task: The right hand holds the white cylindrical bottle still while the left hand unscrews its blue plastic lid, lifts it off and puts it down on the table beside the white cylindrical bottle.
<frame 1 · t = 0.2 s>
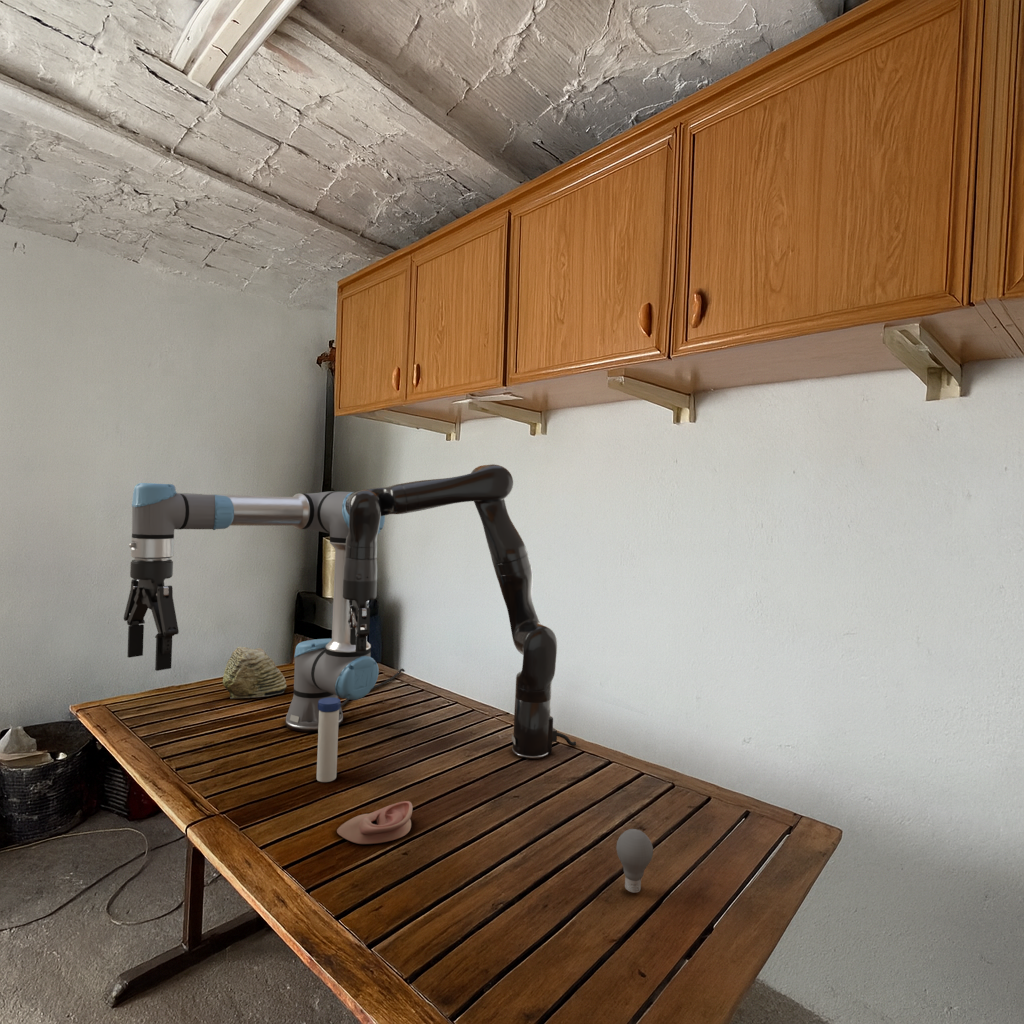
left hand: (148, 662, 129), 28 cm above the table, tool pointing down, fingers open, 13 cm apart
right hand: (357, 648, 144), 29 cm above the table, tool pointing down, fingers open, 8 cm apart
fossil: (254, 694, 198), on the table
light bulb: (632, 891, 106), on the table
lid: (329, 702, 142), point 17 cm above the table, screwed on, not yet turned
white cylindrical bottle: (326, 778, 143), on the table
anatomical model: (375, 830, 121), on the table
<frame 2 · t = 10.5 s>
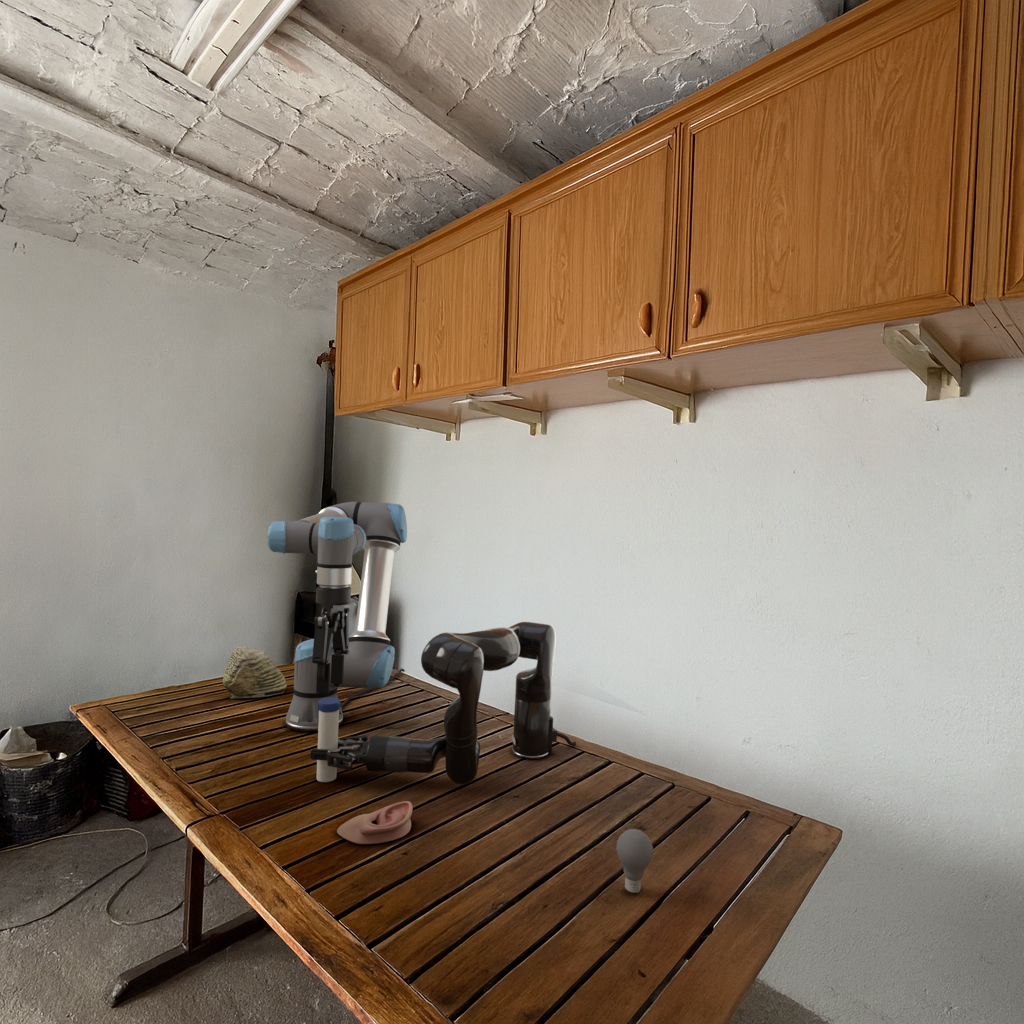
left hand: (329, 687, 142), 21 cm above the table, tool pointing down, fingers open, 7 cm apart
right hand: (315, 749, 143), 6 cm above the table, tool horizontal, fingers closed on white cylindrical bottle, 4 cm apart
white cylindrical bottle: (326, 778, 143), on the table, touching right hand
everything else where it was.
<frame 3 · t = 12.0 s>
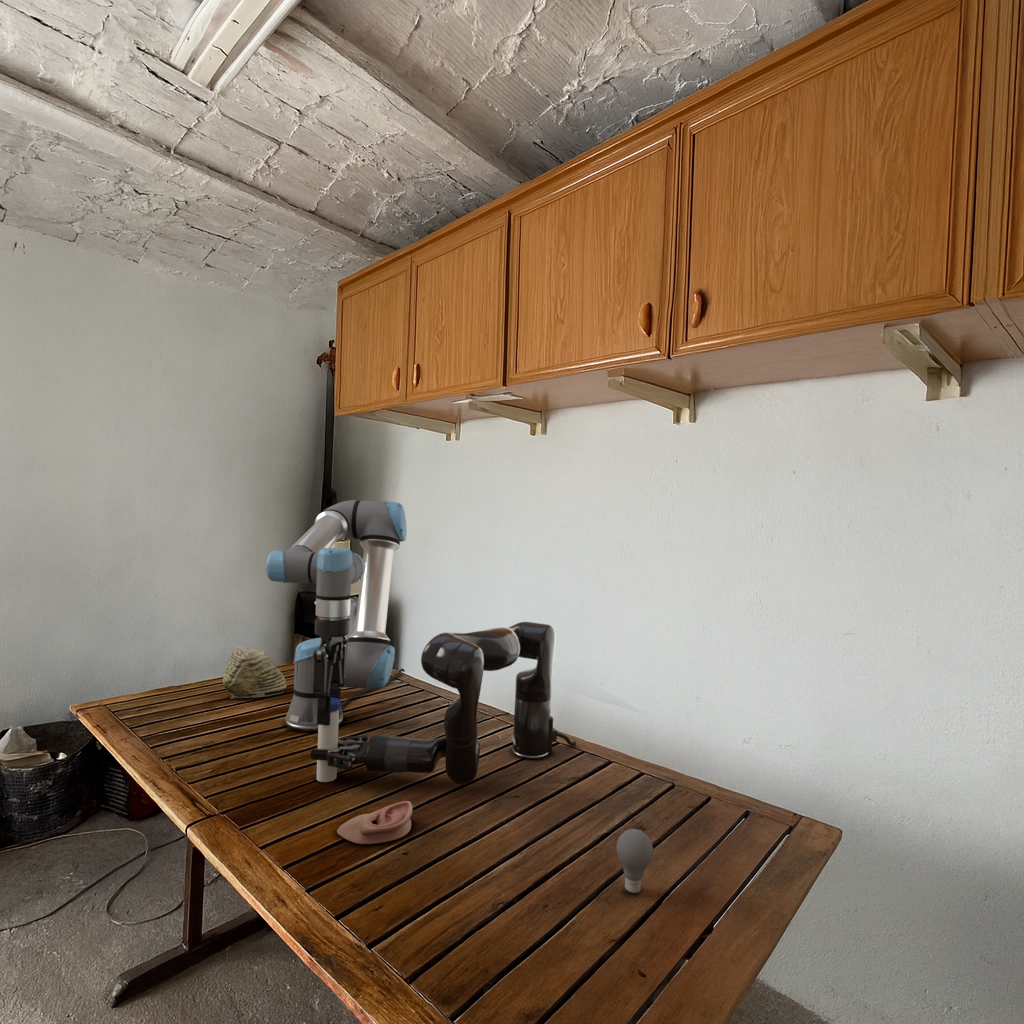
left hand: (328, 720, 142), 13 cm above the table, tool pointing down, fingers closed on lid, 5 cm apart
right hand: (315, 749, 143), 6 cm above the table, tool horizontal, fingers closed on white cylindrical bottle, 4 cm apart
lid: (329, 702, 142), point 17 cm above the table, screwed on, not yet turned, touching left hand
white cylindrical bottle: (326, 778, 143), on the table, touching right hand
everything else where it was.
when the left hand's fingers open (13 cm above the table, at t = 13.3 s): lid stays where it is, point 17 cm above the table.
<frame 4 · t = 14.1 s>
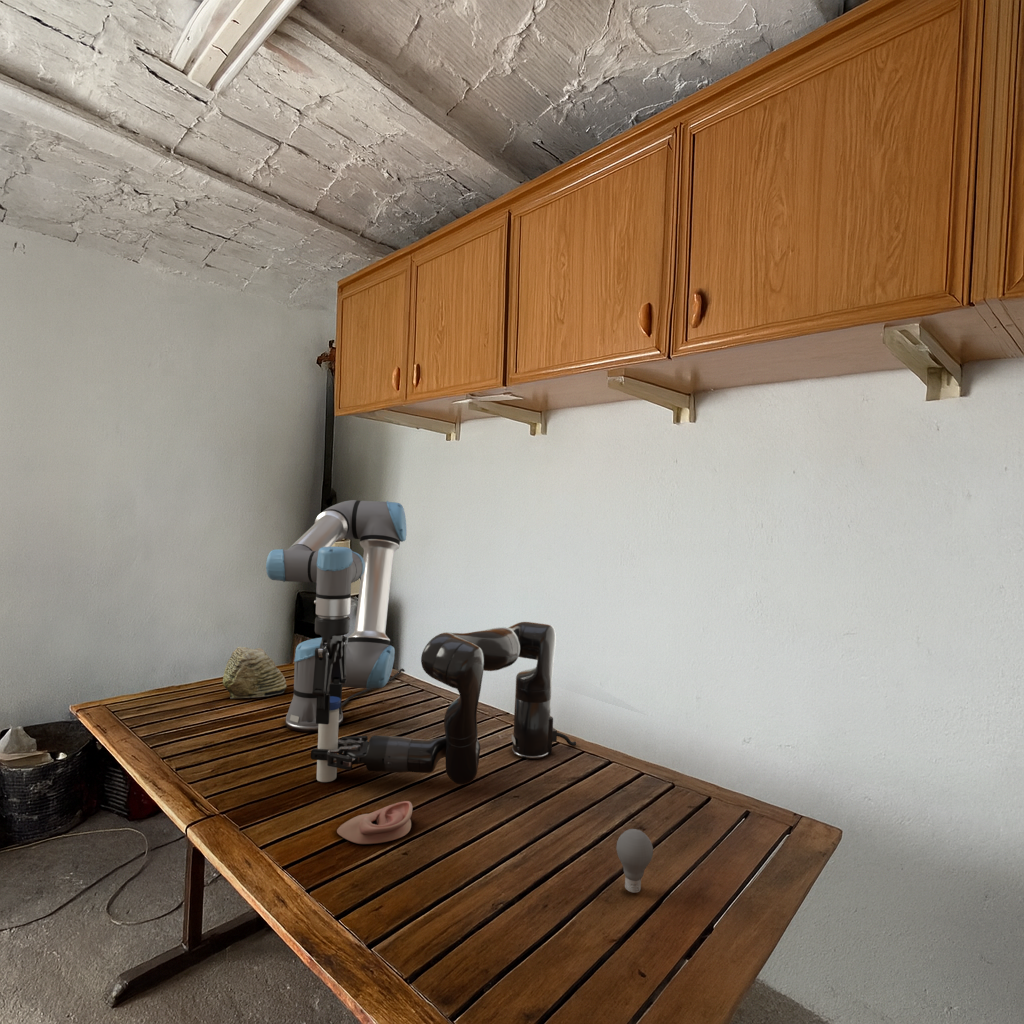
left hand: (328, 717, 142), 14 cm above the table, tool pointing down, fingers open, 7 cm apart
right hand: (315, 749, 143), 6 cm above the table, tool horizontal, fingers closed on white cylindrical bottle, 4 cm apart
lid: (329, 701, 142), point 17 cm above the table, turned 86° so far, risen 0.3 cm, still on its thread
white cylindrical bottle: (326, 778, 143), on the table, touching right hand
everything else where it was.
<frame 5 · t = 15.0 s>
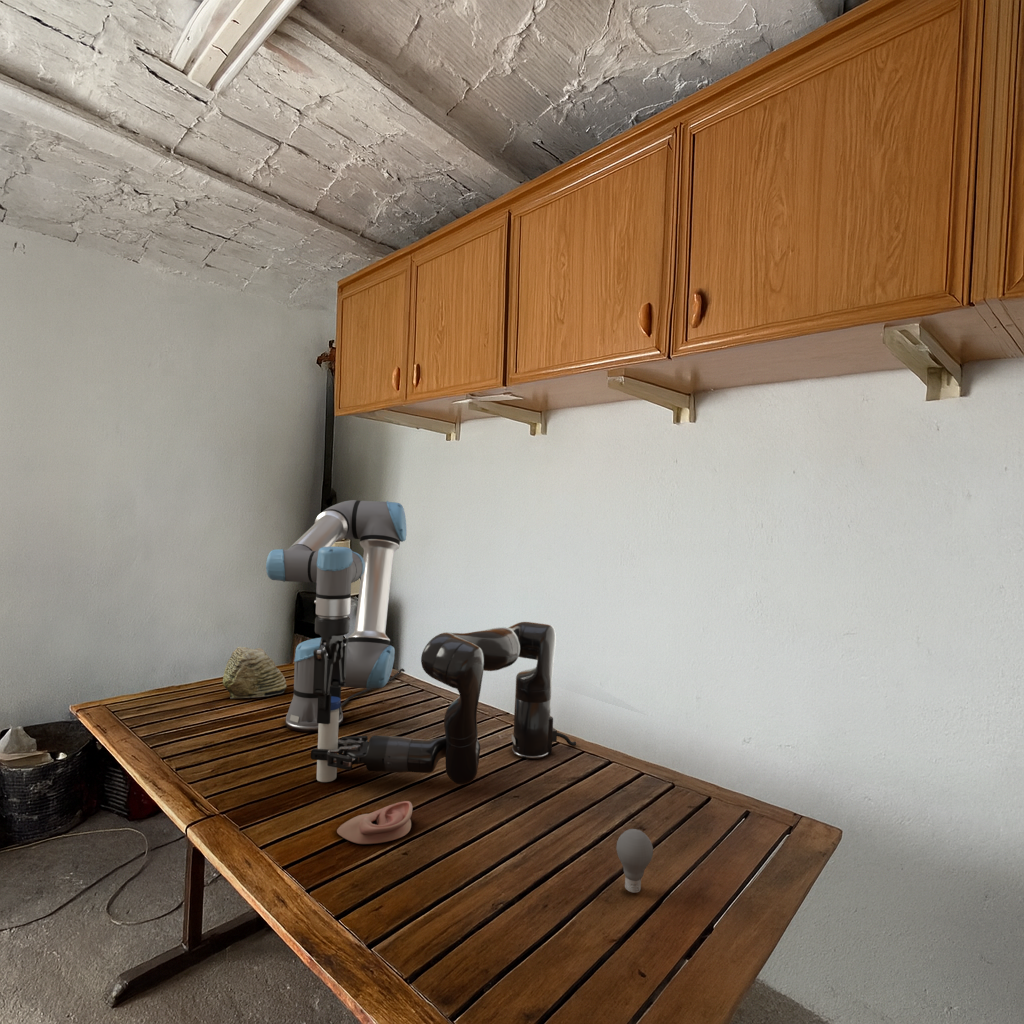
left hand: (328, 718, 142), 13 cm above the table, tool pointing down, fingers closed on lid, 5 cm apart
right hand: (315, 749, 143), 6 cm above the table, tool horizontal, fingers closed on white cylindrical bottle, 4 cm apart
lid: (329, 701, 142), point 17 cm above the table, turned 86° so far, risen 0.3 cm, still on its thread, touching left hand
white cylindrical bottle: (326, 778, 143), on the table, touching right hand
everything else where it was.
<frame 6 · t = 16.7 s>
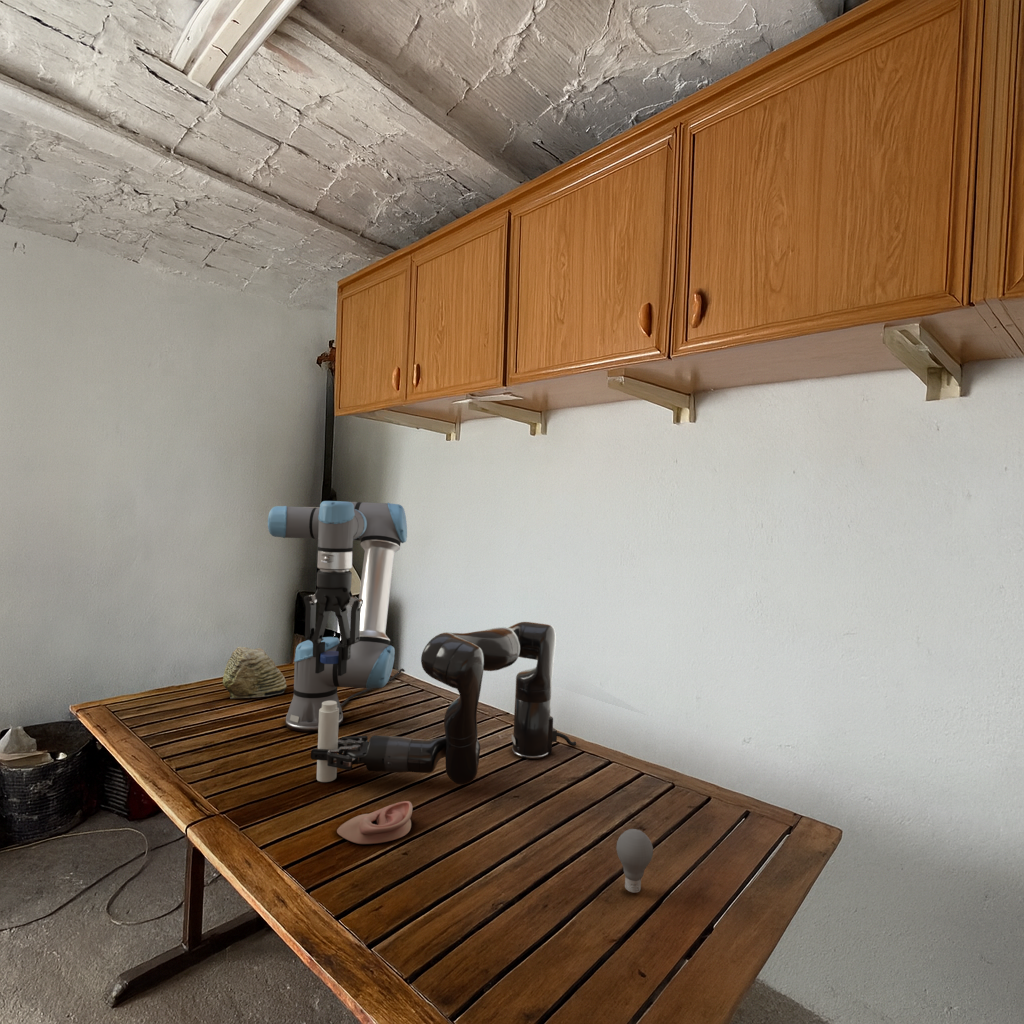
left hand: (330, 672, 143), 24 cm above the table, tool pointing down, fingers closed on lid, 5 cm apart
right hand: (315, 749, 143), 6 cm above the table, tool horizontal, fingers closed on white cylindrical bottle, 4 cm apart
lid: (331, 655, 142), point 28 cm above the table, off its thread, touching left hand
white cylindrical bottle: (326, 778, 143), on the table, touching right hand
everything else where it was.
when the left hand's fingers open (0 cm above the table, at t = 22.6 s): lid drops 3 cm, point 1 cm above the table.
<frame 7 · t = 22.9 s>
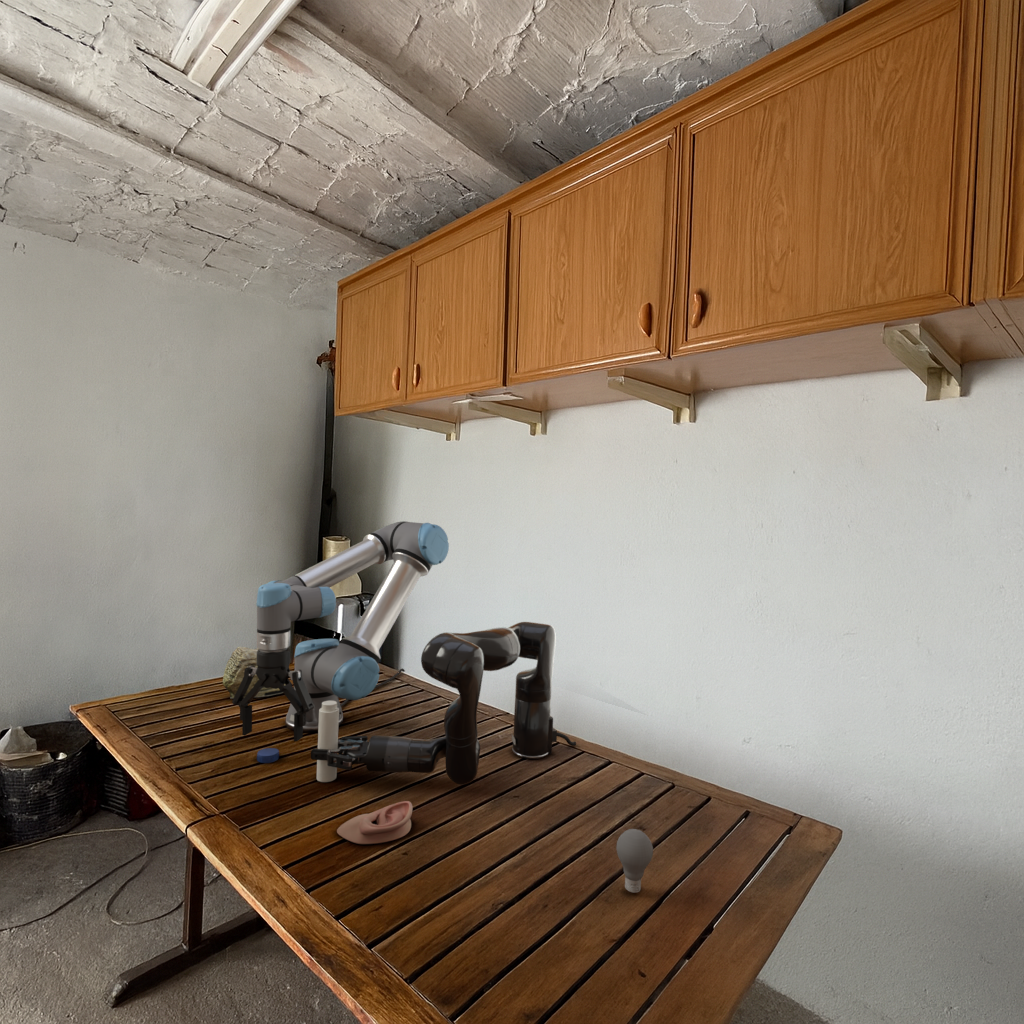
left hand: (272, 736, 152), 5 cm above the table, tool pointing down, fingers open, 13 cm apart
right hand: (315, 749, 143), 6 cm above the table, tool horizontal, fingers closed on white cylindrical bottle, 4 cm apart
lid: (268, 753, 151), point 1 cm above the table, off its thread
white cylindrical bottle: (326, 778, 143), on the table, touching right hand
everything else where it was.
when the right hand's fingers open (6 cm above the table, at t = 23.1 s): white cylindrical bottle stays where it is, on the table.
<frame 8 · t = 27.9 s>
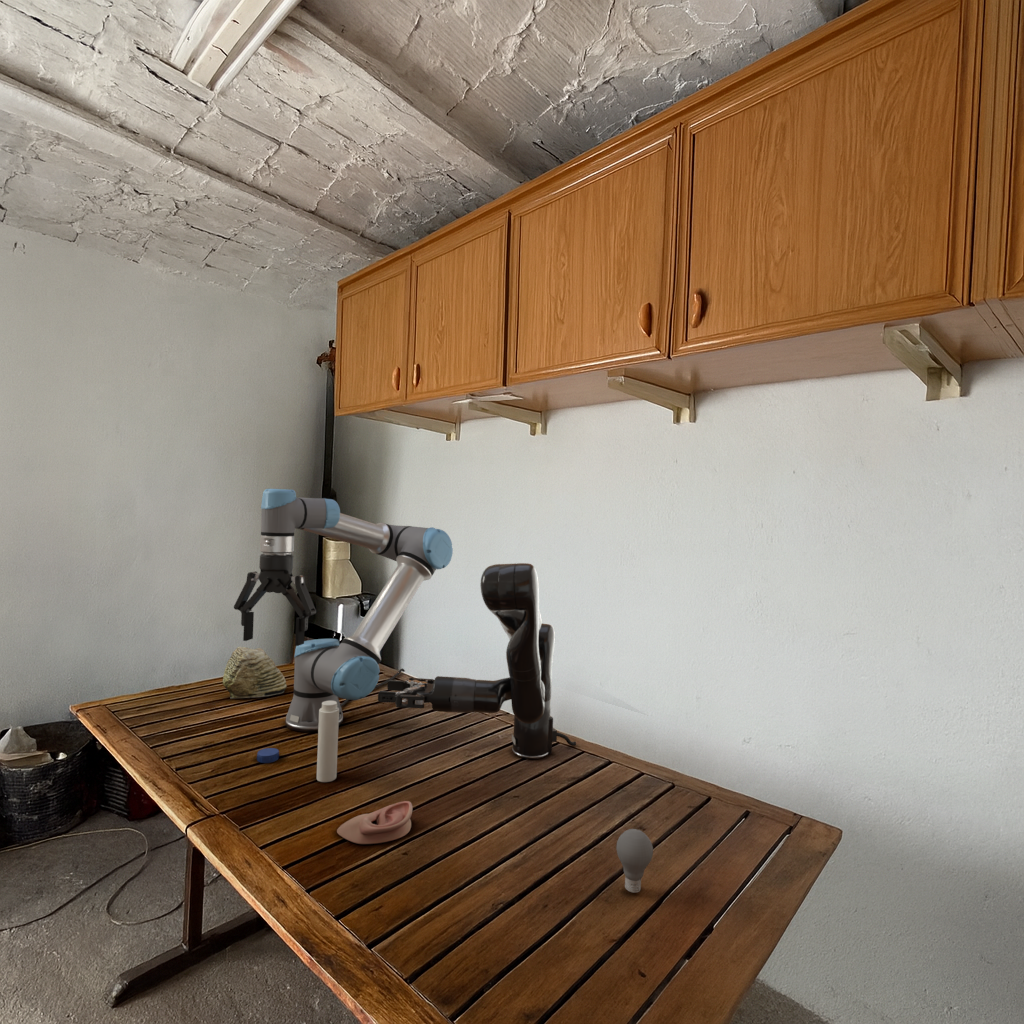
left hand: (273, 642, 151), 28 cm above the table, tool pointing down, fingers open, 13 cm apart
right hand: (383, 690, 142), 21 cm above the table, tool horizontal, fingers open, 8 cm apart
white cylindrical bottle: (326, 778, 143), on the table
everything else where it was.
at the end: lid came off its thread; lid point 1.4 cm above the table; the left hand is holding nothing; the right hand is holding nothing; white cylindrical bottle tilted 0°; white cylindrical bottle moved 0.0 cm from its start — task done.
